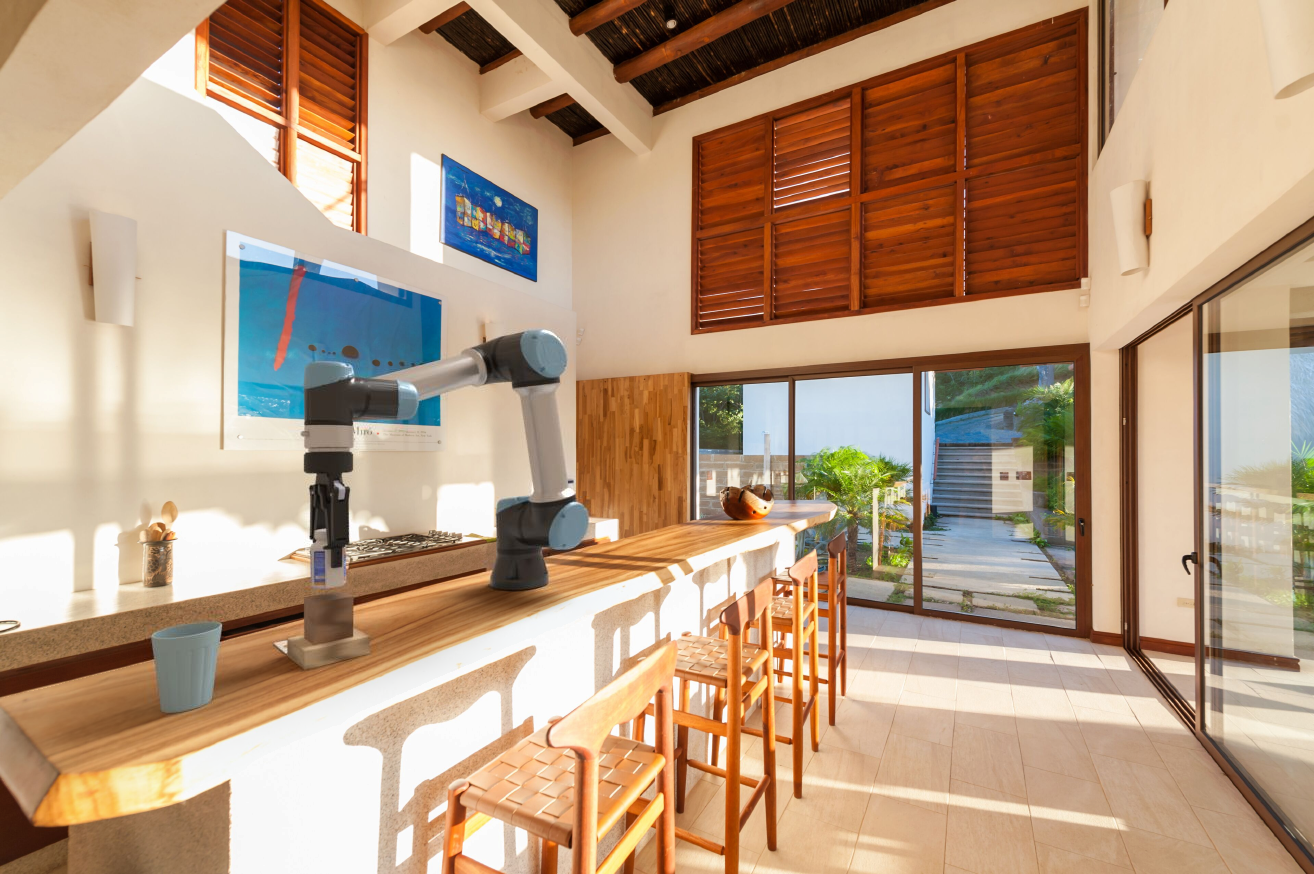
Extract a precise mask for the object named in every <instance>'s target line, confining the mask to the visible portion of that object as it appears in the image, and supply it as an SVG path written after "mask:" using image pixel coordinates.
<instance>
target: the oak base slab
mask: <svg viewBox="0 0 1314 874" xmlns="http://www.w3.org/2000/svg"><path fill="white" fill-rule="evenodd" d="M286 639H287V654H286V655H287V657H289V658H290V659H291V660H292V662H294V663H295V664H297V665H298V666H299V667H300V668H301V669H303V670H304V671H307V670H310V669H314V668H319V667H323V666H327V665H330V664H335V663H338V662H339V663H340V662H343V661H347V660H350V659H355V658H359V657H363V656H366V655H370V653H371V636H370V635H368V634H367V633H365V632H363V631H362V630H359V629H358V628H357V627H354V626H353V637H350V638H346V639H341V640H337V641H332V642H328V643H323V644H319V645H313V644H312V643H311V642H309V641H308V640H307V639H305V638H304V634H300V635H297V636H291V637H287V638H286Z"/></svg>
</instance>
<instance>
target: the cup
mask: <svg viewBox="0 0 1314 874" xmlns="http://www.w3.org/2000/svg"><path fill="white" fill-rule="evenodd" d="M222 627H223V623H221V622H219V621H218V622H217V621H200V622H199V621H198V622H190V623H184V624H179V625H175V626H174V625H173V626H169V627H166V628H164V629H161V630H160V629H159V630H158V631H156V632H154V633H152V634H151V635H150V638H151V639H150V640H151V644H152V652H153V659H154V666H155V667H154V668H155V674H156V682H157V689H158V696H159V697H158V698H159V703H160V704H159V705H160V710H161V712H163V713H164V714H165V713H166V714H176V713H183V712H189V711H192V710H194V709H198V708H201V707H203V706H205V705H207V704H208V703H210V702H211V701H212V698H213V694H214V693H213V692H214V688H215V687H214V685H215V679H216V670H217V664H218V663H217V662H218V657H219V648H220V640H221V637H222V636H221V635H222Z"/></svg>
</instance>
